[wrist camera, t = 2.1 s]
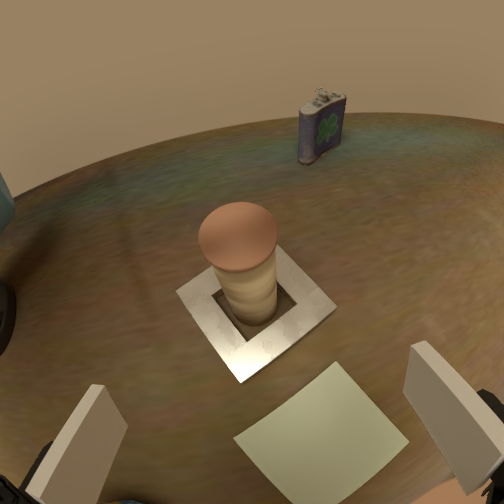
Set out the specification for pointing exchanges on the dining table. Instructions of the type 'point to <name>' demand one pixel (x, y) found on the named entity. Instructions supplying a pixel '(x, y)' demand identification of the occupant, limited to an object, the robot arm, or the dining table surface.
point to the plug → (243, 258)
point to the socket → (270, 339)
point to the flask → (320, 125)
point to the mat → (323, 440)
